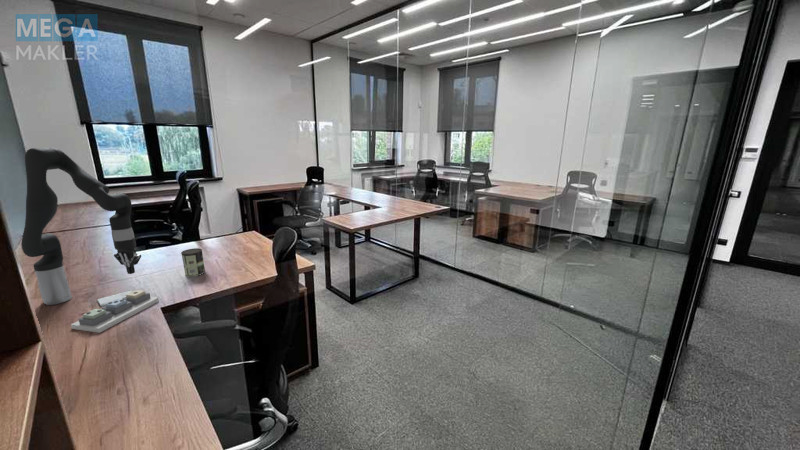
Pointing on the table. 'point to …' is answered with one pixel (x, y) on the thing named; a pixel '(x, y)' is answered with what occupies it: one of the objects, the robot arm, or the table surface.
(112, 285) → the table surface
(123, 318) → the button panel
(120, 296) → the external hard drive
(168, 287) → the table surface
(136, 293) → the button one
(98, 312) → the button two
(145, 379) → the table surface
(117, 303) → the button three
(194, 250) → the coffee can
